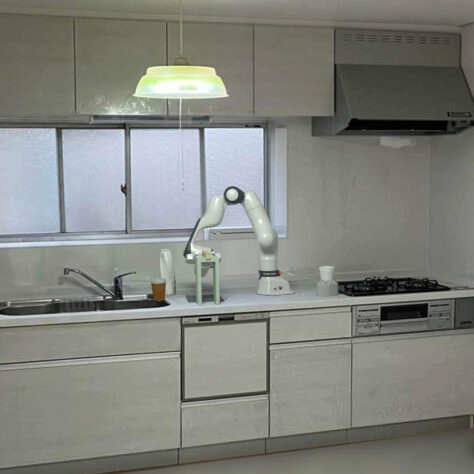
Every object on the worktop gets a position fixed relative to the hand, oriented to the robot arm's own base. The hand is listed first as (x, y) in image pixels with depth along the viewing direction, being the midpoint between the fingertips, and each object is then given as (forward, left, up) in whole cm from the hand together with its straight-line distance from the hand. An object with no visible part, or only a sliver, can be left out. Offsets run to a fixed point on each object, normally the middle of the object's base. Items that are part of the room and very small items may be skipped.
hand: (204, 252), depth 411 cm
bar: (0, +6, -2) cm, 6 cm away
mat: (0, -7, -28) cm, 28 cm away
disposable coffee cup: (+26, -10, -28) cm, 39 cm away
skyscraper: (+20, -26, -28) cm, 43 cm away
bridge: (0, +10, -28) cm, 29 cm away
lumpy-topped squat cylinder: (-72, -2, -28) cm, 77 cm away
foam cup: (-80, -28, -28) cm, 89 cm away
